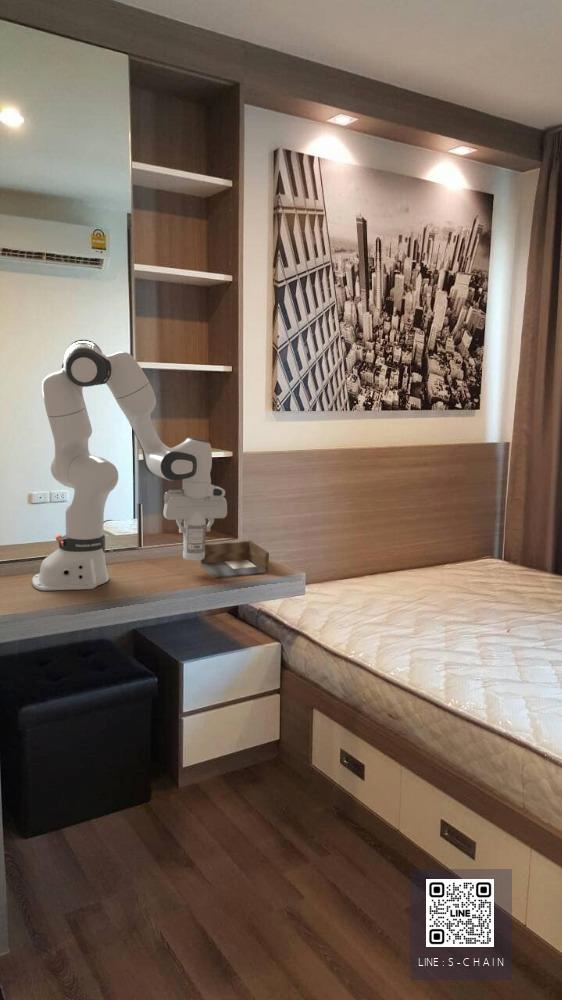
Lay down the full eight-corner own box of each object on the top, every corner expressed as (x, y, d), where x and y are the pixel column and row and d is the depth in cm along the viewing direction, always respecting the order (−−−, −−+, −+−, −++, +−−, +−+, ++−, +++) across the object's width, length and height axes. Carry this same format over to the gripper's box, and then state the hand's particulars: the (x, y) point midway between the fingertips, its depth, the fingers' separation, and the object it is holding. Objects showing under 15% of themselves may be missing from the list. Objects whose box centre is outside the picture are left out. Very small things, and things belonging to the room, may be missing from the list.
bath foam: (208, 559, 230) (211, 497, 226) (190, 562, 225) (192, 499, 222) (196, 554, 235) (198, 494, 231) (178, 557, 230) (180, 495, 227)
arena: (216, 578, 228) (216, 557, 227) (200, 564, 242) (200, 544, 241) (268, 573, 236) (269, 553, 234) (249, 560, 250) (250, 540, 248)
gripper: (167, 491, 219) (165, 535, 221) (230, 490, 227) (227, 533, 230) (161, 488, 224) (160, 531, 227) (223, 487, 233) (221, 528, 235)
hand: (194, 532), depth 228 cm, fingers closed on bath foam, 7 cm apart
